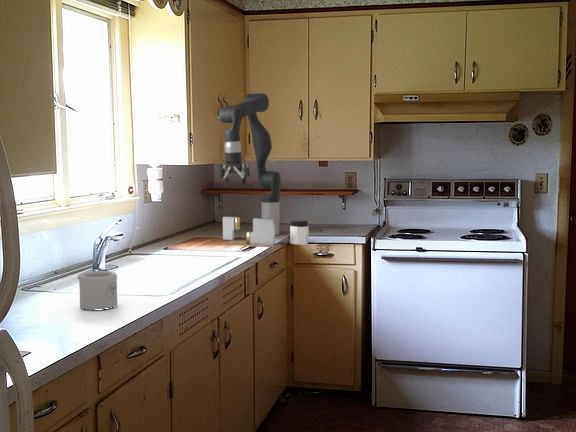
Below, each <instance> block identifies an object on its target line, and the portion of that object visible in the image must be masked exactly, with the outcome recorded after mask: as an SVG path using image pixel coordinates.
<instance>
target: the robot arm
mask: <svg viewBox="0 0 576 432" xmlns="http://www.w3.org/2000/svg"><path fill="white" fill-rule="evenodd" d="M269 104H270V101H269V97H268V95H267V94H266V93H263V92H262V93H256V92H255V93H247V94H245V97H244V101H240V102H237V103H235V104H234V105H229V106H228V105H227V106H224V107H222V108H221V109H220V110H219V113H218V119H219V120H220V121H221V123H224V124H232V125H231V127H228V128H226V129H224V131H223V136H224V138H223V139H224V160H225V164H224V163H221V164H219V178H222V179H223V182H224V184H223V185H224V186H225V187H226V188H227V187H230V181H229V177H230V175H231V174H233V175H234V174H236V175H237V174H238V175H239V177H240V179H241V181H240V182H241V187H243V188H244V187H246V186H247V178H248V177H250V175H251V173H250V167H249V163H243V160H242V159H243V158H242V145H241V136H240V135H241V134H240V132H241V125H242V120H243V119H244V118H245V117H247V118H248V122H249V127H250V133H251V139H252V140H251V141H252V144H253V150H254V156H255V161H256V168H257V170H256V171H257V180H258V185H259V187H260V188H261V189H265V190H266V189H267V190H270V192H269V193H268V194H266V195H263V196H262V197H261V219H275V236H278V235H280V198H281V183H282V181H281V180H282V179H281V175H280V172H279V171H275V170H274V171H273V170H267V169H266V166H267V165H266V164H267V160H268V158H269V156H270V154H271V151H272V148H273V145H272V137H271V135H270V133H269V130H267V128H266V127H265V126H264V125H263V124H262V122H261V121H260V119H259V117H258V114H257V113H263V112H267V110H268V109H269ZM225 169H226V170H225Z"/></svg>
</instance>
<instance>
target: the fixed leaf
mask: <svg viewBox="0 0 576 432" xmlns="http://www.w3.org/2000/svg"><path fill="white" fill-rule="evenodd" d="M245 234H246V237H245V240H246V241H245V242H246V244H253V245H269V246H274V245H275V243H276V235H275V219H262V218H258V217H257V218H256V217H255V218H253V219H252V231H246V233H245Z"/></svg>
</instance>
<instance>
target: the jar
mask: <svg viewBox="0 0 576 432" xmlns="http://www.w3.org/2000/svg"><path fill="white" fill-rule="evenodd" d="M309 231H310V229H309V220H308V219H300V218H299V219H298V218H297V219H291V220H290V226H289V244H291V245H308V244H309V239H310V238H309V233H310V232H309Z"/></svg>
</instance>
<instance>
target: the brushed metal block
mask: <svg viewBox="0 0 576 432" xmlns="http://www.w3.org/2000/svg"><path fill="white" fill-rule="evenodd" d="M240 230H241V217H238V216H222V240H228V241H229V240H230V241H234V240H235V231H240Z"/></svg>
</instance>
